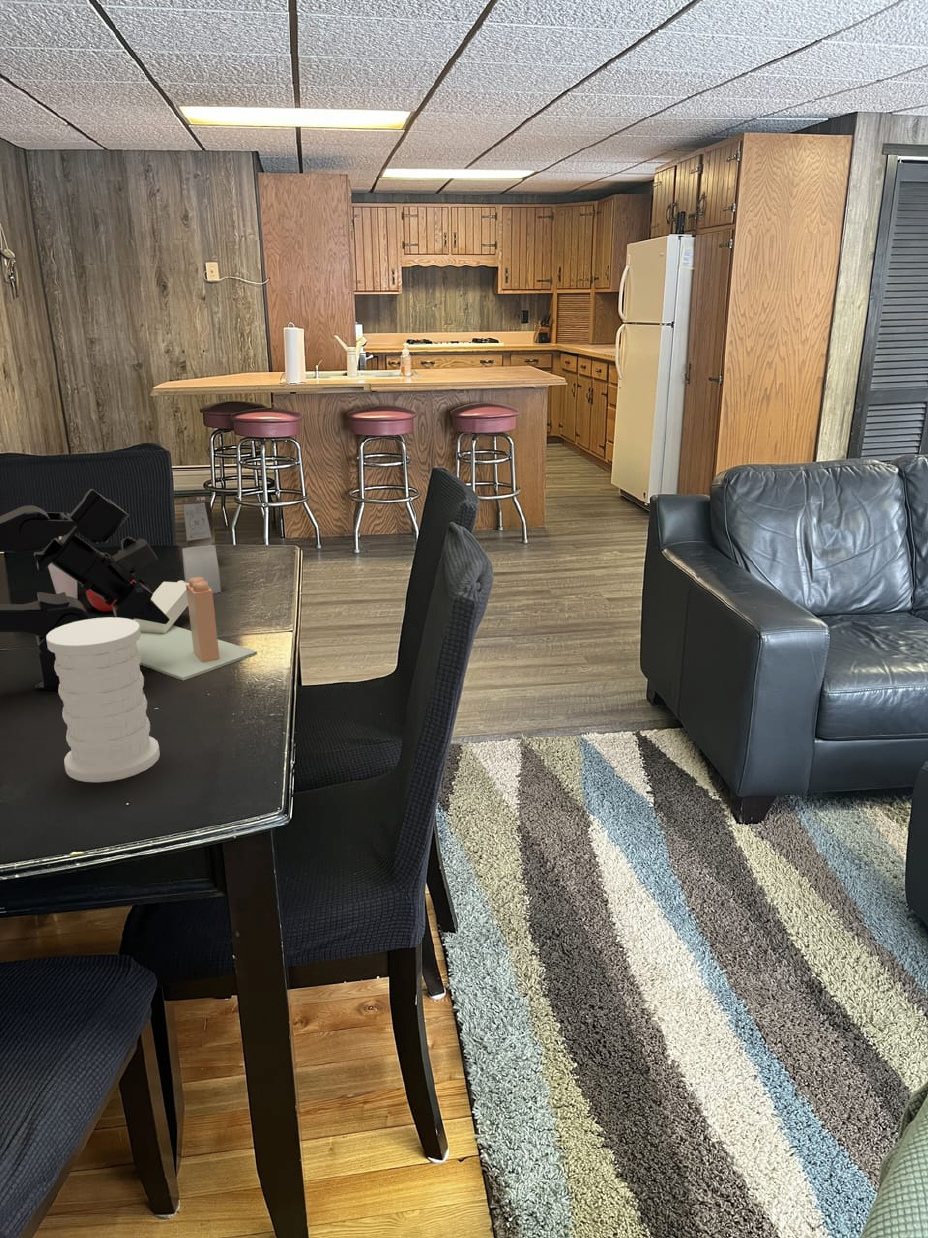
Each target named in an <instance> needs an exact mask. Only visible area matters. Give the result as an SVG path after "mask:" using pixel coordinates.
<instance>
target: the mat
mask: <svg viewBox="0 0 928 1238" xmlns="http://www.w3.org/2000/svg"><path fill="white" fill-rule="evenodd" d="M217 639H218V638H217ZM136 644H137V648H138V649H139V652H140V655H141V660H140V661H141V662H140V664H139V666H142V665H143V666H142V667H146V668H148V669H150V668H151V670H154V671H155V672H159V673H160V674H161V673H162V674H164V675H167V676H170V677H173V678H174V679H178V680H181V681H185V680H186V681H187V680H188V679H192V678H194V677H197V676H200V675H203V674H206V673H209V672H211V671H214V670H217V669H220V668H223V667H224V666H228V665H231V664H233V663H235V662H236V663H237V662H239V661H242V660H245V659H247V658H250V657H253V656H256V655H258V651H256V650H253V649H250V648H248V647H247V648H246V647H245V646H244V647H243V646H241V645H237V644H234V643H230V642H227V641H224V640H221V639H218V649H219V658H220V659H216V660H210V661H205V662H201V661H200V659H199V658H198V657H197V655H196V654H195V652H194V650H193V641H192V633H191V629H190V630H189V629H187V628H182V627H179V626H176V625H174V624H172V626H171V627H170V628H169V629H168V631H167V632H166V633H152V632H141V637H140V639H139V640H138V641H136Z"/></svg>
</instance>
